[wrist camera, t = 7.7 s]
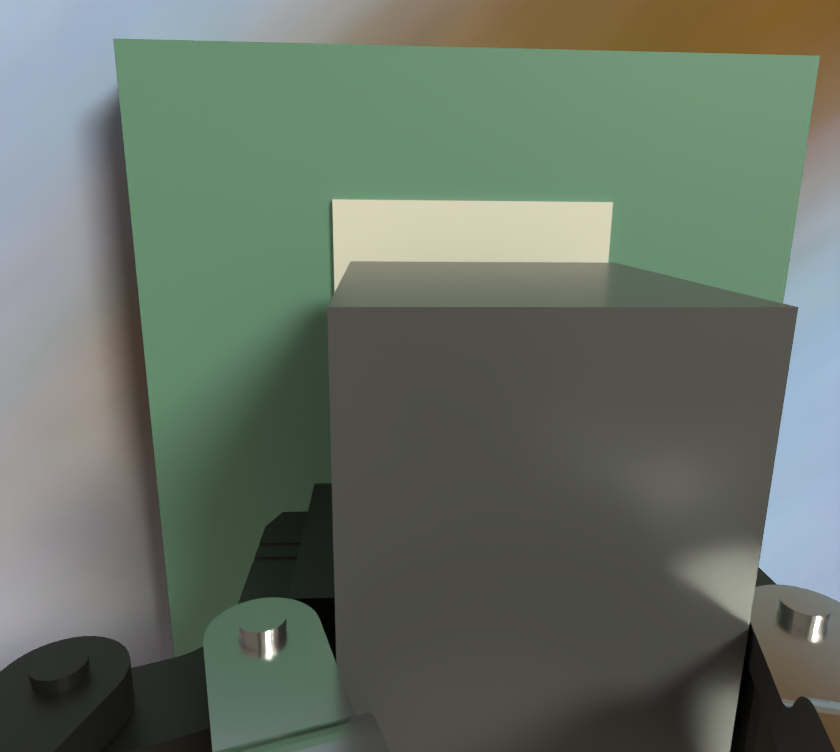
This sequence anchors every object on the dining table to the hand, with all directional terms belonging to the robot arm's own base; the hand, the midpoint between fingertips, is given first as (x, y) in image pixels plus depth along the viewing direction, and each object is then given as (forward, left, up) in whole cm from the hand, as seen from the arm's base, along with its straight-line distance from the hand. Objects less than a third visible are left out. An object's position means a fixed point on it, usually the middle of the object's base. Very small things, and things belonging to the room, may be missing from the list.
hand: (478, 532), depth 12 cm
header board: (0, 0, -3) cm, 3 cm away
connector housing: (0, 0, 0) cm, 0 cm away
